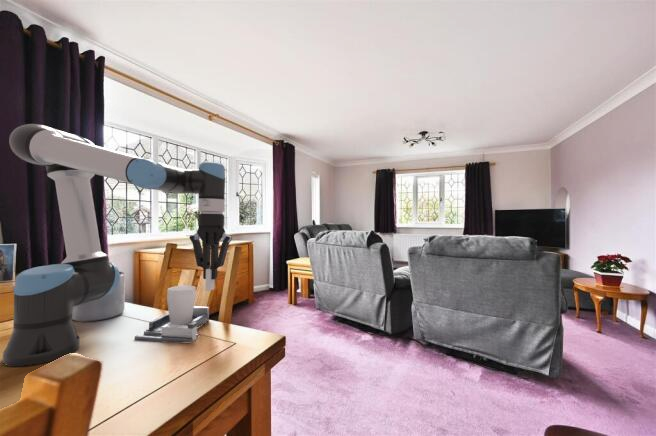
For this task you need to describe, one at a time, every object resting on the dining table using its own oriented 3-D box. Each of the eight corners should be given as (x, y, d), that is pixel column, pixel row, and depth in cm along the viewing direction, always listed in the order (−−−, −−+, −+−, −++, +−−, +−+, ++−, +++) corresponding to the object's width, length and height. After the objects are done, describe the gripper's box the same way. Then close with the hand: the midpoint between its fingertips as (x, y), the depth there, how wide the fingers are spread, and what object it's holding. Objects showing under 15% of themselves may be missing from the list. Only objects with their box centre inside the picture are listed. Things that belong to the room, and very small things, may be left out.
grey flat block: (161, 339, 92) (161, 322, 92) (166, 336, 94) (166, 320, 94) (192, 341, 91) (192, 324, 91) (196, 338, 93) (196, 322, 93)
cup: (177, 317, 109) (178, 284, 109) (200, 319, 107) (201, 286, 107) (160, 326, 100) (160, 290, 100) (184, 328, 98) (185, 292, 98)
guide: (134, 339, 91) (134, 336, 91) (145, 333, 96) (145, 330, 96) (190, 343, 90) (190, 340, 90) (198, 337, 94) (198, 334, 94)
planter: (134, 311, 118) (135, 272, 118) (94, 325, 103) (95, 280, 103) (102, 307, 122) (103, 269, 122) (58, 320, 106) (59, 277, 106)
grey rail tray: (145, 333, 96) (146, 317, 96) (172, 319, 110) (173, 305, 110) (186, 336, 95) (187, 319, 95) (208, 321, 109) (209, 307, 109)
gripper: (184, 212, 89) (182, 291, 89) (226, 213, 87) (224, 293, 87) (197, 213, 96) (196, 286, 96) (236, 213, 95) (235, 287, 95)
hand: (209, 289), depth 92 cm, fingers closed
